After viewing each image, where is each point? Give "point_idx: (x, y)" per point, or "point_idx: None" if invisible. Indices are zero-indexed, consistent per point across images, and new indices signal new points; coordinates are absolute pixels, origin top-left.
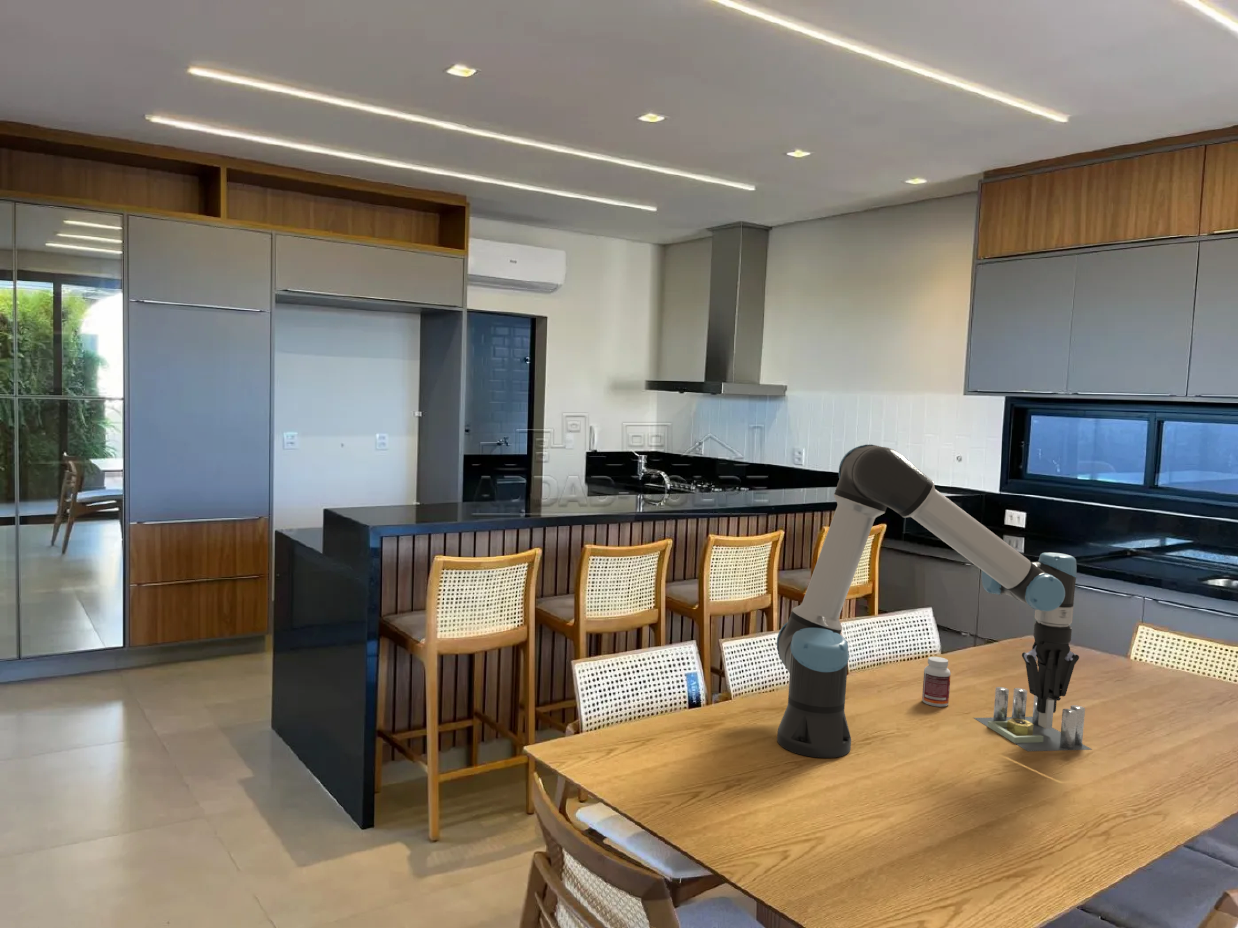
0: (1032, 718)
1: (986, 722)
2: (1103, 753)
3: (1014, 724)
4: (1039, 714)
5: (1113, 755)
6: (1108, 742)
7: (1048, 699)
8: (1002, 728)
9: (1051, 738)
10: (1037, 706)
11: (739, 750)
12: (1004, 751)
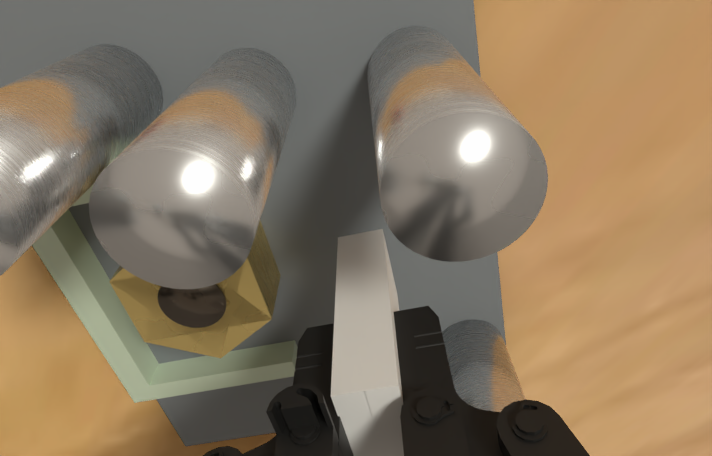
0: (370, 72)
1: None
2: (546, 402)
3: (143, 336)
4: (337, 286)
5: (577, 414)
6: (696, 280)
7: (371, 453)
8: (88, 301)
9: None
10: (298, 362)
11: None
12: (89, 437)
